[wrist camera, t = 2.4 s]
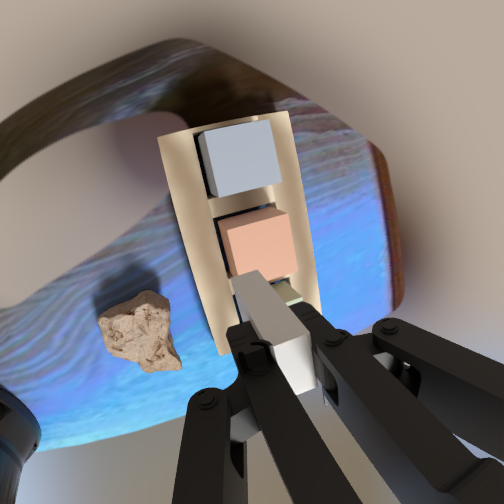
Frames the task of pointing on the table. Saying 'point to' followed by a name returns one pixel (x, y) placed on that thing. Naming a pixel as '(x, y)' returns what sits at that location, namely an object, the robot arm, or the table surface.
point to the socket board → (207, 207)
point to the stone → (141, 332)
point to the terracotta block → (259, 243)
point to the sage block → (287, 293)
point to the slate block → (239, 158)
